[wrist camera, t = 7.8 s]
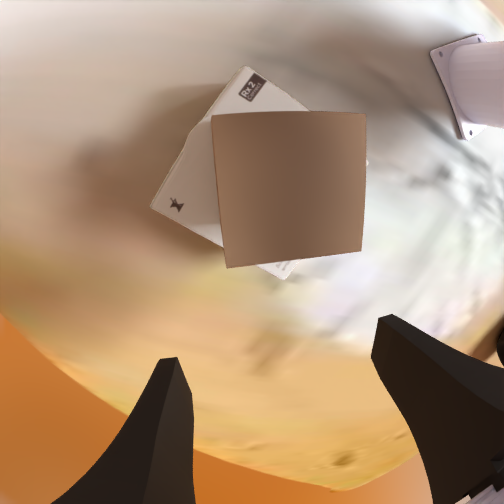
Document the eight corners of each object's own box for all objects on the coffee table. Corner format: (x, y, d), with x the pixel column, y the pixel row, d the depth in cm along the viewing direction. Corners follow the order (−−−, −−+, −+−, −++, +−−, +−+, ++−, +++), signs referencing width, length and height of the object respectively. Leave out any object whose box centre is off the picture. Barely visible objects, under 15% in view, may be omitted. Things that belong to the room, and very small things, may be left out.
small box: (265, 247, 19) (283, 286, 15) (161, 186, 17) (144, 208, 12) (333, 152, 17) (374, 162, 13) (232, 79, 15) (242, 59, 10)
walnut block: (316, 116, 12) (365, 113, 8) (317, 213, 13) (361, 251, 10) (210, 120, 11) (211, 115, 7) (220, 223, 13) (226, 268, 9)
